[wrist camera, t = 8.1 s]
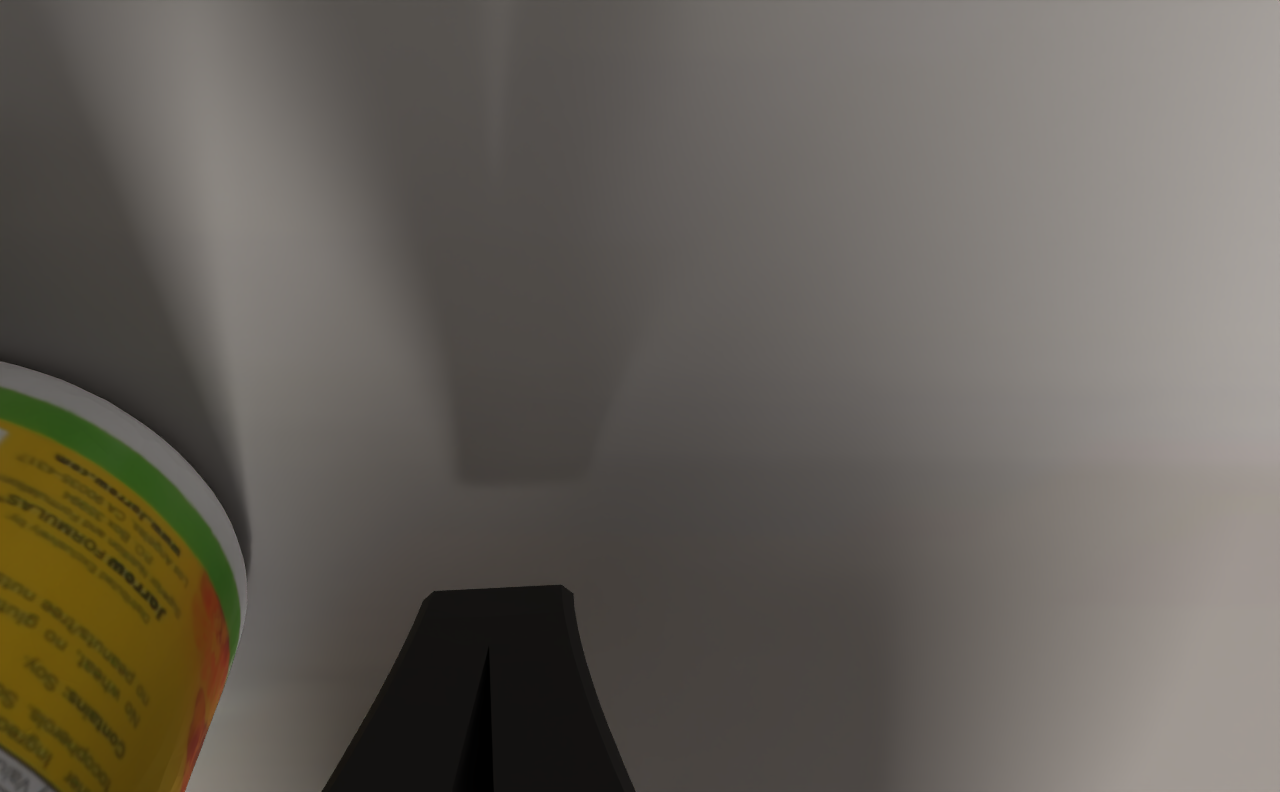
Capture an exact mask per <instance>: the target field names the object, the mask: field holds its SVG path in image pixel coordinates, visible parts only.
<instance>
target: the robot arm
mask: <svg viewBox="0 0 1280 792" xmlns="http://www.w3.org/2000/svg"><path fill="white" fill-rule="evenodd" d="M322 792H636V791H635V789H634V787H633V785H632V782H631V780H630V778H629V776H628V773H627V771H626V768H625V766H624V763H623V761H622V758H621V756H620V754H619V751H618V749H617V746H616V744H615V741H614V739H613V736H612V734H611V732H610V729H609V727H608V724H607V722H606V719H605V716H604V714H603V711H602V708H601V705H600V703H599V700H598V697H597V694H596V691H595V688H594V685H593V682H592V679H591V675H590V672H589V669H588V666H587V663H586V659H585V656H584V652H583V648H582V645H581V641H580V636H579V632H578V627H577V621H576V616H575V609H574V596H573V593H572V592H570V591H569V590H568V589H567V588H565V587H564V586H563V585H546V586H526V587H506V588H487V589H467V590H447V591H434V592H432V593H431V594H430V595H429V596H428V597H427V598H426V599H425V600H424V601H423V602H422V605H421V607H420V610H419V612H418V614H417V617H416V619H415V621H414V624H413V626H412V628H411V630H410V632H409V634H408V637H407V639H406V641H405V643H404V645H403V647H402V649H401V651H400V653H399V655H398V657H397V659H396V661H395V663H394V665H393V667H392V669H391V671H390V673H389V675H388V677H387V679H386V681H385V682H384V684H383V686H382V688H381V690H380V692H379V694H378V696H377V697H376V699H375V701H374V703H373V705H372V707H371V709H370V710H369V712H368V714H367V716H366V717H365V719H364V721H363V722H362V724H361V726H360V728H359V729H358V731H357V733H356V734H355V736H354V738H353V740H352V741H351V743H350V745H349V746H348V748H347V750H346V752H345V753H344V755H343V757H342V758H341V760H340V762H339V764H338V765H337V767H336V769H335V770H334V772H333V774H332V776H331V777H330V779H329V780H328V782H327V784H326V785H325V787H324V789H323V790H322Z"/></svg>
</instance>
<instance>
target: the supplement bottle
mask: <svg viewBox="0 0 1280 792" xmlns="http://www.w3.org/2000/svg"><path fill="white" fill-rule="evenodd" d="M246 608H247V577H246V569H245V564H244V559H243V555H242V552H241V549H240V546H239V543H238V540H237V537H236V534H235V532H234V529H233V527H232V524H231V522H230V520H229V518H228V516H227V514H226V512H225V510H224V508H223V507H222V505H221V504H220V502H219V501H218V499H217V497H216V496H215V494H214V493H213V491H212V490H211V489H210V487H209V486H208V485H207V484H206V483H205V481H204V480H203V479H202V478H201V476H200V475H199V474H198V473H197V472H196V471H195V469H194V468H193V467H192V466H191V465H190V464H189V463H188V462H187V461H186V460H185V459H184V458H183V457H182V456H181V455H180V454H179V453H178V452H177V451H176V450H175V449H174V448H173V447H172V446H170V445H169V444H168V443H167V442H166V441H165V440H164V439H163V438H161V437H160V436H159V435H157V434H156V433H155V432H153V431H152V430H151V429H150V428H148V427H147V426H146V425H144V424H143V423H141V422H140V421H138V420H137V419H135V418H134V417H132V416H131V415H129V414H128V413H126V412H124V411H123V410H121V409H120V408H118V407H116V406H115V405H113V404H112V403H110V402H108V401H107V400H105V399H103V398H100V397H98V396H96V395H94V394H92V393H90V392H88V391H86V390H84V389H81V388H79V387H77V386H75V385H73V384H71V383H68V382H66V381H64V380H61V379H59V378H56V377H53V376H50V375H47V374H44V373H41V372H38V371H35V370H31V369H28V368H25V367H21V366H18V365H14V364H10V363H6V362H1V361H0V792H185V790H186V787H187V784H188V782H189V779H190V776H191V774H192V771H193V768H194V766H195V763H196V761H197V758H198V756H199V753H200V751H201V748H202V745H203V742H204V739H205V736H206V734H207V731H208V728H209V726H210V723H211V721H212V718H213V715H214V713H215V710H216V707H217V705H218V702H219V699H220V697H221V694H222V691H223V689H224V686H225V683H226V680H227V678H228V675H229V672H230V669H231V666H232V663H233V660H234V656H235V654H236V651H237V648H238V645H239V642H240V638H241V635H242V631H243V627H244V622H245V615H246Z"/></svg>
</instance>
